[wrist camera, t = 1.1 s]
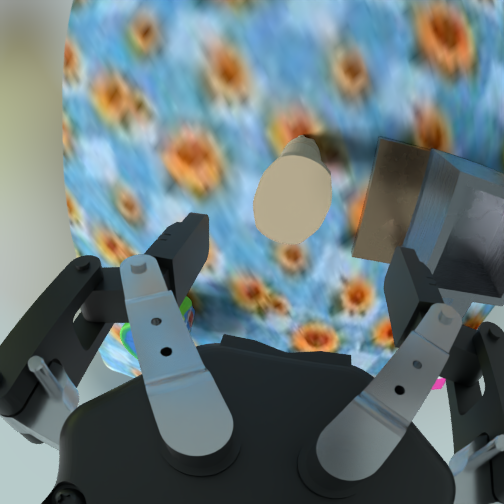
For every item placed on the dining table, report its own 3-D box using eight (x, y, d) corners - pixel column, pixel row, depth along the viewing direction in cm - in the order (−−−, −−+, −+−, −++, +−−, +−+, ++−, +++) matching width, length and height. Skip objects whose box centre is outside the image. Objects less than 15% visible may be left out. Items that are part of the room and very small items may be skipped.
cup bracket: (381, 120, 28) (442, 173, 14) (485, 153, 26) (577, 226, 12) (351, 251, 38) (360, 368, 23) (443, 268, 36) (484, 375, 21)
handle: (334, 130, 30) (345, 173, 18) (313, 181, 34) (307, 253, 22) (292, 114, 30) (272, 144, 18) (273, 166, 34) (243, 229, 22)
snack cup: (177, 339, 55) (156, 381, 47) (132, 305, 53) (106, 345, 44) (226, 303, 47) (206, 354, 39) (173, 260, 45) (142, 306, 36)
